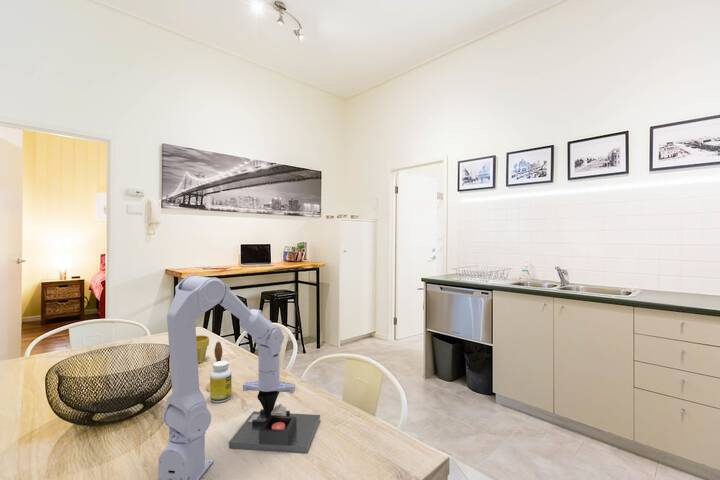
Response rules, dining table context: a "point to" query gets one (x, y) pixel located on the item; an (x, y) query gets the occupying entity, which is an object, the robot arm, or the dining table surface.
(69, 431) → the dining table surface
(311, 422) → the panel
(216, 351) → the hand bell
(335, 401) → the dining table surface
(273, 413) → the sliding toggle
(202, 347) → the plant pot
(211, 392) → the pill bottle
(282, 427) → the button
